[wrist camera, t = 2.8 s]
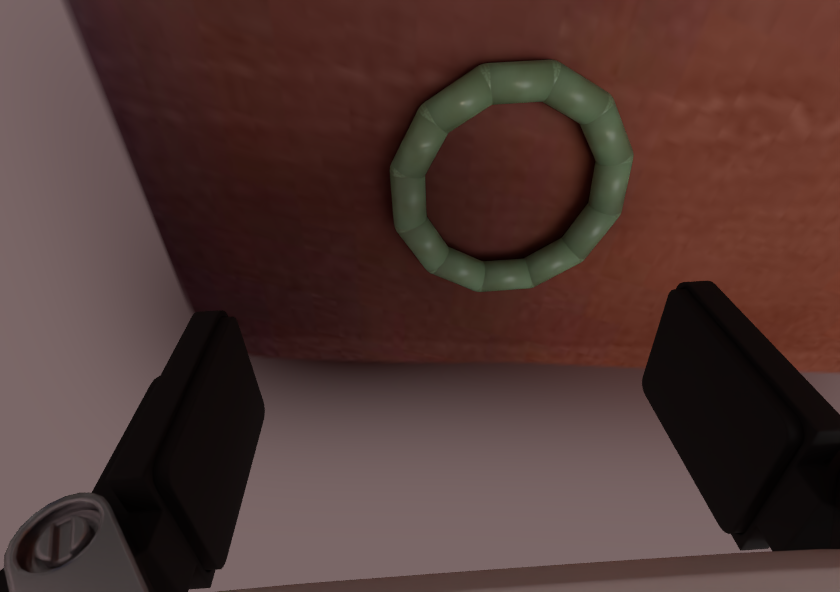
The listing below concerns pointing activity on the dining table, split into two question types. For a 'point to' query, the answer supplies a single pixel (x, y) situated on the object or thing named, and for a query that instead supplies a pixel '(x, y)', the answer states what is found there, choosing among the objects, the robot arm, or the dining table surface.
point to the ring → (468, 100)
